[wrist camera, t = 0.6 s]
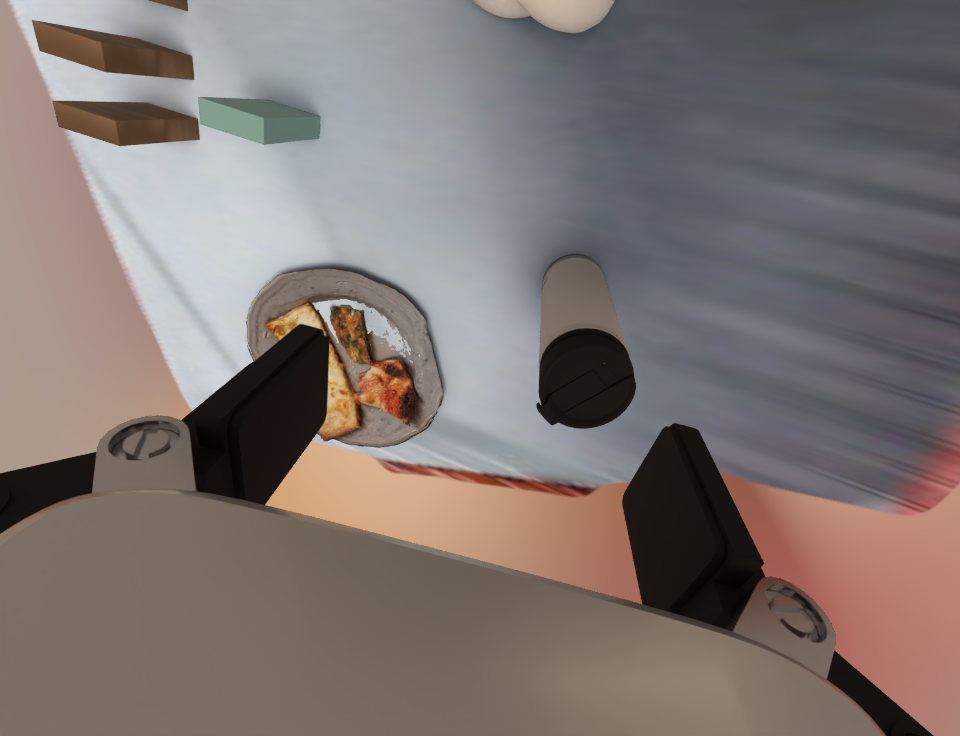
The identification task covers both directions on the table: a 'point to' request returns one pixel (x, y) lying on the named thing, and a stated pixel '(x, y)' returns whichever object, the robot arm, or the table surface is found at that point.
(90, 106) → the domino
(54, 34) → the domino
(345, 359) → the food plate
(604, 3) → the white knot
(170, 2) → the domino
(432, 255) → the table surface
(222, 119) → the domino
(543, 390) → the travel mug
